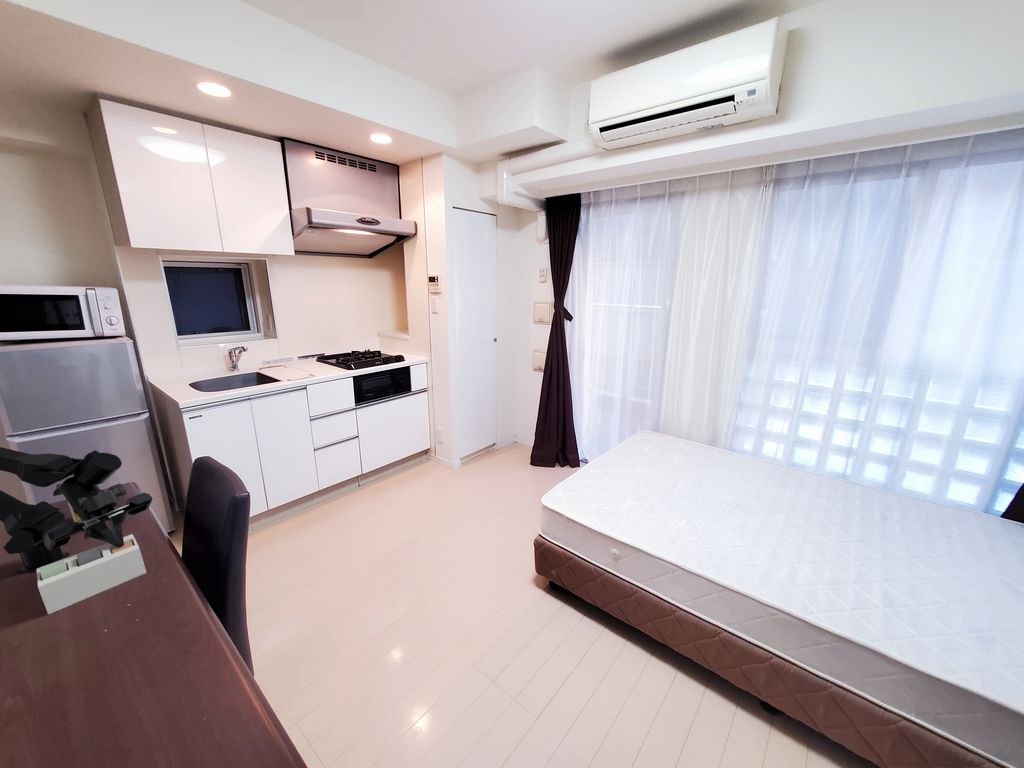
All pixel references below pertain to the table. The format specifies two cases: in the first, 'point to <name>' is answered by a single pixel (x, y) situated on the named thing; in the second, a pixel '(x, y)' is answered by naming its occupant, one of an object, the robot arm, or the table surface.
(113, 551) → the terracotta button
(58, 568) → the sage-green button
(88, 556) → the charcoal button
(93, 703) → the table surface
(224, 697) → the table surface
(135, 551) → the button console
